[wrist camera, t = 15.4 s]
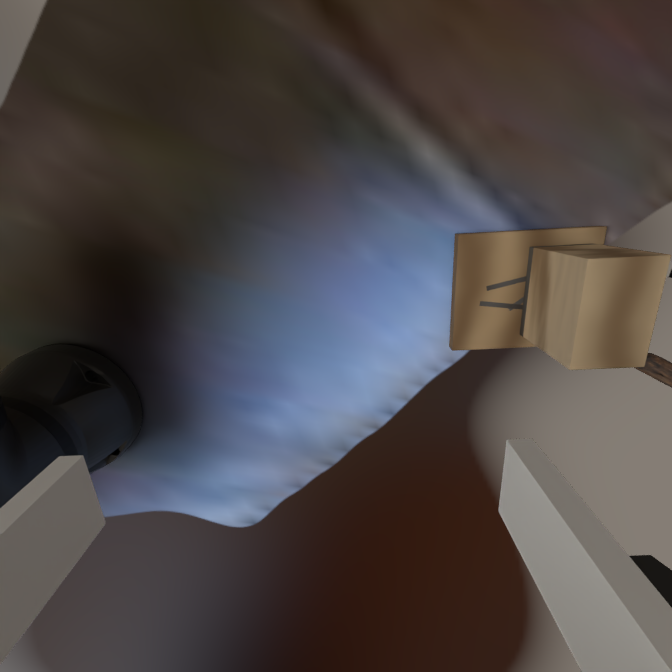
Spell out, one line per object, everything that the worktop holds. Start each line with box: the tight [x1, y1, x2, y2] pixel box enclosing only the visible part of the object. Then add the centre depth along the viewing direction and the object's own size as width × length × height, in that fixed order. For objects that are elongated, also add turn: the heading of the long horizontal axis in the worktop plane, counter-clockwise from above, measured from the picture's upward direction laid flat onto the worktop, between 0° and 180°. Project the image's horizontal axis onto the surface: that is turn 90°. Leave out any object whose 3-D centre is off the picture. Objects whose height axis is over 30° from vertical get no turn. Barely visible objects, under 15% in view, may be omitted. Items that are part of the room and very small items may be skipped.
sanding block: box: [520, 243, 671, 370], centre depth 33 cm, size 6×9×9 cm, turn 3°
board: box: [449, 226, 607, 350], centre depth 38 cm, size 14×12×1 cm
